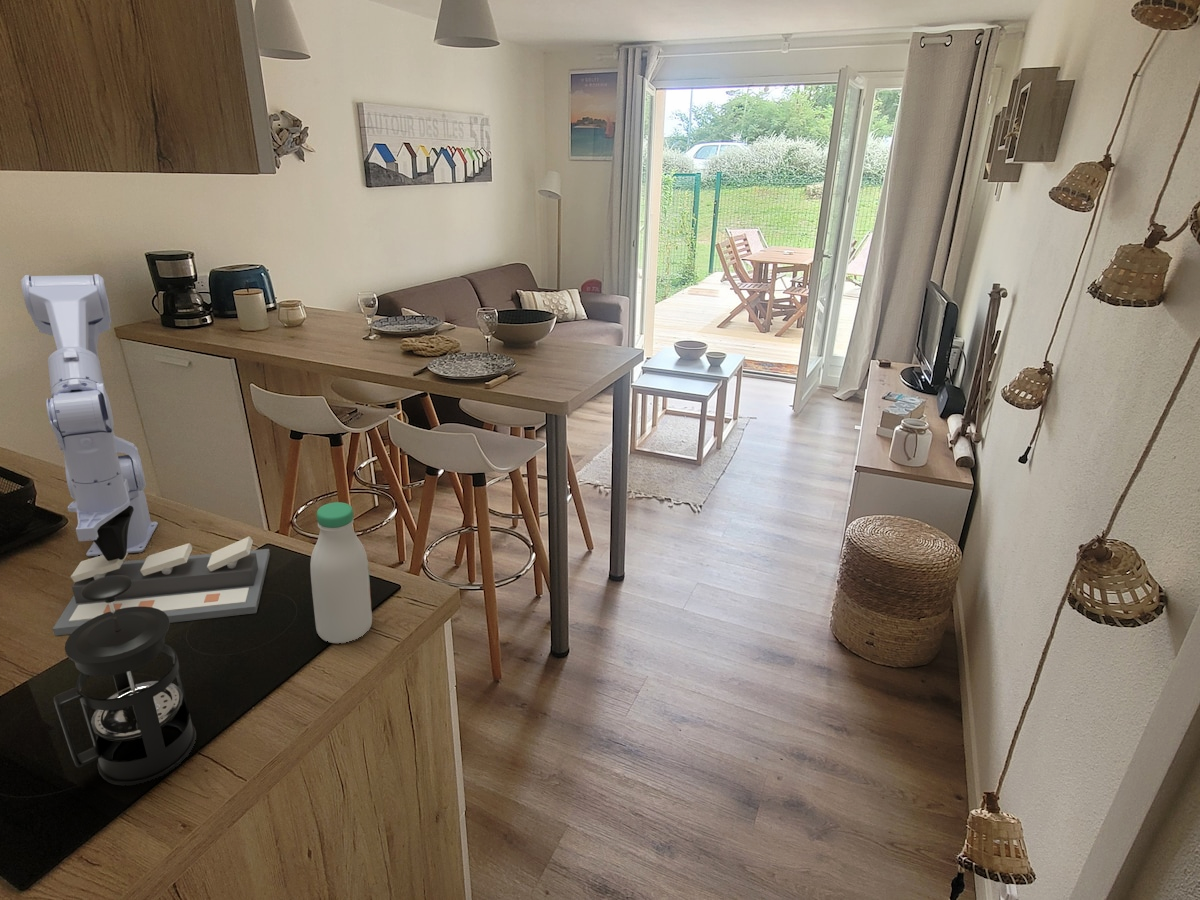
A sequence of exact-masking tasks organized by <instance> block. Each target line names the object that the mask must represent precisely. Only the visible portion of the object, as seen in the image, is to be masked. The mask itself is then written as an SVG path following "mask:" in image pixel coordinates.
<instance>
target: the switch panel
mask: <svg viewBox="0 0 1200 900" xmlns="http://www.w3.org/2000/svg"><path fill="white" fill-rule="evenodd" d="M211 554H212V553H206V554H204V553H203V554H194V555H193V554H192V555H191V554H190V556H189V558H188V560H187V563H184V564H180V565H177V566H174V567H173V569H172V571H171V573H170V574H168V575H165V574H163V573H162V570H161V571H158V572H155V573H152V574H148V575H145V576H143V574H142V573H141V571H140V570H141V568H142V566H143V564H144V562H145V560H146V558H145V559H136V560H135V559H134V560H133V559H132V560H124V561H123V563H122V565H121V567H120V568H119V569H116V570H113V571H110V572H107V573H106V575H105V576H111V575H124V576H127V577H129V578H130V579H131V580H132V585H131V587H130V588H129V589H128V590H127V591H126V592H124V593H122V594H120V595H118V596H116V597H115V598H116V599H115V601H113V604H114V608H115V610H117V609H122V608H128V607H143V606H144V607H152V608H156V609H159V610H161V611H163V612H164V613H165V614H166V615H167V616H168V618H169V621H170V624H171V623H179V622H180V623H181V622H189V621H197V620H200V621H201V620H206V619H207V620H208V619H215V618H225V617H232V616H234V617H235V616H240V615H243V616H244V615H251V614H257V612H258V608H259V604H260V600H261V595H262V592H263V591H262V590H263V586H264V581H265V577H266V574H267V569H268V566H269V565H268V564H269V562H270V561H269V560H270V557H271V553H270V548H264V549H251V550H250V554H249V555H248V556H245V557H243V558H241V559H239V560H238V561H237V564H236V567H235V568H228V566H227V565H225V566H223V567H220V568H218V569H216V570H214V571H210V570H209V569H208V568H207V565H208V563H209V560H210V557H211ZM94 580H95V579H94V577H90V578H87V579H84V580H81V581H77V582H73V583H74V584H73V585H72V586H71V590H72V592H73V593H72V594H73V595H72V598H70V601H69V602H68V603H67V605H66V607H65V608H64V610H63V612H62V613H61V615H60V616H59V618H58V619H57V621H56V622H55V624H54V626H53V627H52V631H53V632H52V633H53V635H54V637H56V636H65V635H71V634H72V633H73V631H75V630H76V629H77V628H78V627H79V626H81V625H82V624H84V623H86V622H87V621H89V620H91V619H93V618H95V617H97V616H99V615H102V614H104V613H107V612H110V611H111V610H110V606H109V603H106V602H105V601H104V600H99V601H92V600H87V599H85V598H83V597H82V596H81V591H82V589H83V588H84V587H85V586H86V585H87V584H88V583H90V582H92V581H94Z"/></svg>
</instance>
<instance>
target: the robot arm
mask: <svg viewBox="0 0 1200 900" xmlns="http://www.w3.org/2000/svg"><path fill="white" fill-rule="evenodd" d="M20 284H21V292H22V296H23V301H24V304H25V308H26V309H27V312H28V314H29V316H30V317H31V320H32V322H33V324H34V326H35V327H36V328H37V329H38V331H39V333H42V334H45V335H49V336H51V337H53V339H54V343H55V348H56V350H54V352H52V353H51V354H50V355H49V356H48V358H47V366H48V367H47V369H48V379H49V387H50V396H51V398H50V397H49V398H48V397H47V398H46V402H45V404H46V406H45V407H46V413H47V418H48V422H49V427H50V428H51V430H52V432H53V434H54V436H55V438H56V441H57V443H58V445H57V446H58V448H59V450H60V451H62V452H63V456H64V458H63V460H64V461H63V462H64V467H65V468H64V470H65V471H64V472H65V478H66V483H67V488H68V492H69V495H70V497H71V499H73V500H74V501H71V502H70V503H69V504H68V506H67V511H68V513H73V512H74V513H76V517H77V518H76V519H77V526H76V528H75V533H76V537H77V540H78V542H88V541H89V542H90V541H93V542H92V544H91V546H90V547H89V548H88V550H87V552H86V554H85V555H86V557H97V556H98V555H100V556H101V555H104V557H105V558H106V559H107V560H108V561H110V560H115V559H118V558H119V559H120V560H122V559H124V557H125V555H126V552H127V553H128V554H133V553H143V552H144V551H145V550H146V548H147V547H146V546H147V545H148V544H149V542H150V540H151V538H152V536H153V534H154V531H155V530H156V528H157V526H158V525H159V524H158V521H151V516H150V512H149V507H148V501H147V497H146V494H145V492H144V489H145V488H146V486H147V485H146V478H145V473H144V467H143V464H142V460H141V456H140V453H139V449H138V447H137V446H136V445H135V443H133V442H131V441H129V440H127V439H125V438H122V437H119V436H117V435H115V434H116V433H115V431H114V427H115V420H114V415H113V409H112V405H111V401H110V397H109V395H108V393H107V390H106V386H105V381H104V376H103V371H102V367H101V362H100V357H99V351H98V344H99V339H100V335H101V334H103V333H105V332H107V331H109V330H111V328H112V326H111V324H112V317H111V309H110V303H109V298H108V293H107V288H106V285H105V280H104V277H103V276H101V275H100V274H98V273H94V274H89V275H88V274H85V275H79V274H78V275H30V274H25V275H24V276H23V277H22V278H21V280H20ZM118 454H123V455H120V456H119V455H118ZM124 454H125V455H124Z"/></svg>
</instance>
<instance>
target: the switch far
mask: <svg viewBox="0 0 1200 900" xmlns="http://www.w3.org/2000/svg"><path fill="white" fill-rule="evenodd" d="M253 542H254V539H252V537H251V536H249V535H248V536H246V537H245V538H242V539H240V540H238V541H236V542H232V543H231V544H229V545H226V546H224V547H222V548H219V549H217V550H215V551H213V552H211V553H210V554H211V557H210V560H209V563H208V565H207V568H208V569H209V570H210V571H214V570H216V569H218V568H220V567H223V566H225V565H227V566H228V568H235V567H236V564H237V561H238V560H239V559H241V558H243V557H245V556H248V555H249V554H250V550H252V548H253V547H252V546H253Z"/></svg>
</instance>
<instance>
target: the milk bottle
mask: <svg viewBox="0 0 1200 900" xmlns="http://www.w3.org/2000/svg"><path fill="white" fill-rule="evenodd" d="M316 520H317V527H318V528H319V534H318V538H317V541H316V543H315V545H314V548H313V549H312V553H311V556H310V566H309V568H310V570H309V571H310V582H311V593H312V602H313V603H312V604H313V612H314V623H315V629H316V634H318V636H319V637H320V638H321V640H323V641H324V642H327V641H328V642H327V643H331V644H339V643H341V644H347V643H346V642H348V643H350V642H349V641H352V640H354V641H356V640H355V639H357V640H359V639H360V638H359V637H361V636H362V637H364V636H365V635H366V634H367V633H368V632H369V630H370V629H371V627H372V624H373V612H372V596H371V595H372V594H371V583H370V569H369V561H368V556H367V551H366V549H365V547H364V545H363V544H362V541H361V540H360V539H359V538H358V536H357V533H356V532H355V530H354V527H353V524H354V522H355V520H354V510H353V507H352V506H351V505H350V504H348V503H346V502H341V501H340V502H339V501H338V502H335V501H334V502H329V503H326V504H324V505H321V506H320V507H319V508H317V511H316ZM367 631H368V632H367ZM366 632H367V633H366ZM365 633H366V634H365ZM364 634H365V635H364ZM363 635H364V636H363ZM362 637H361V638H362ZM358 638H359V639H358ZM352 642H353V641H352Z"/></svg>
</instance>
